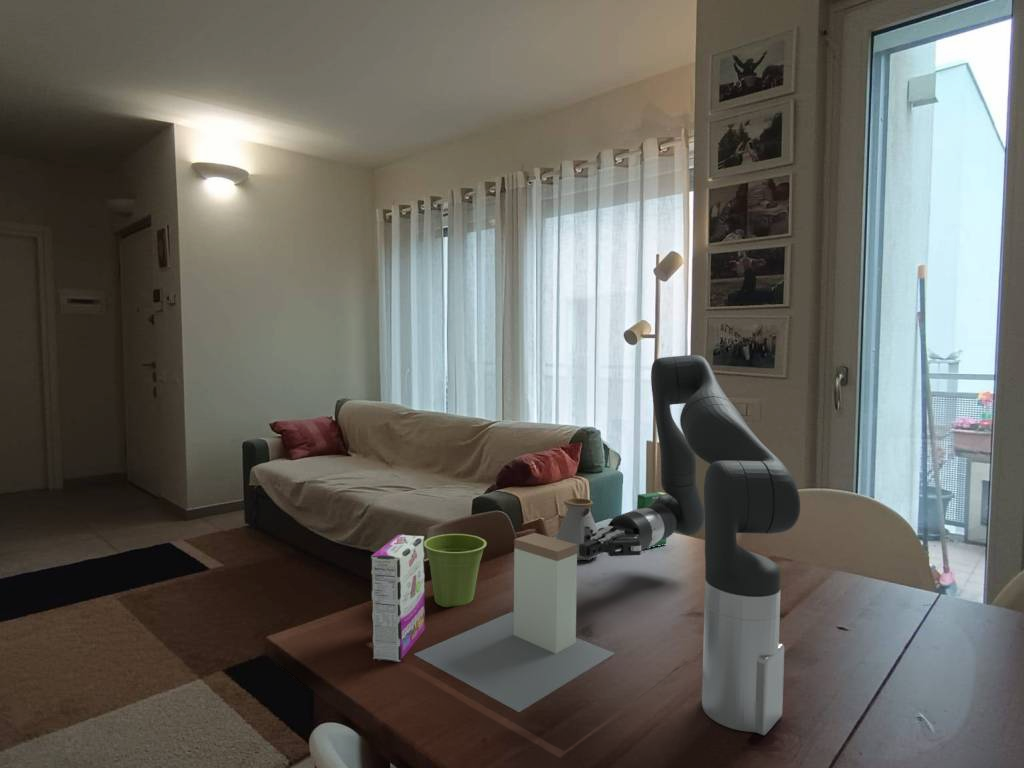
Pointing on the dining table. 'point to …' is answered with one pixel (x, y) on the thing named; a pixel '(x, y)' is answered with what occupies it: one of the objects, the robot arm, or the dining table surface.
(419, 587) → the candy bar box
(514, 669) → the rubber mat
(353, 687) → the dining table surface
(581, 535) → the coffee pot
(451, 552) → the plant pot
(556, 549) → the cream block
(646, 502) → the coffee box
